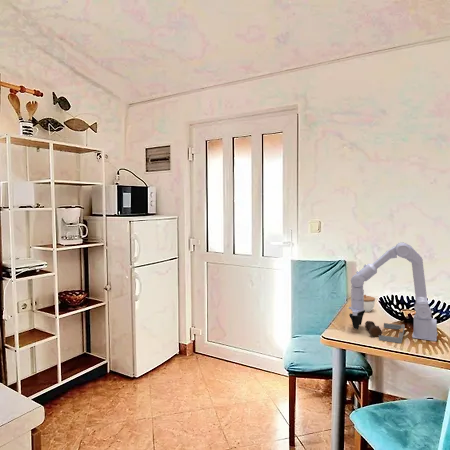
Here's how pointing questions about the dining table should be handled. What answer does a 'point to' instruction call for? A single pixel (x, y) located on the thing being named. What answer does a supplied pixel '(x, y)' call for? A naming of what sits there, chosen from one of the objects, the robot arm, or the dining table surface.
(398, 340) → the hub cradle
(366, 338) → the dining table surface
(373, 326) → the bolt
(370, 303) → the lidded jar
